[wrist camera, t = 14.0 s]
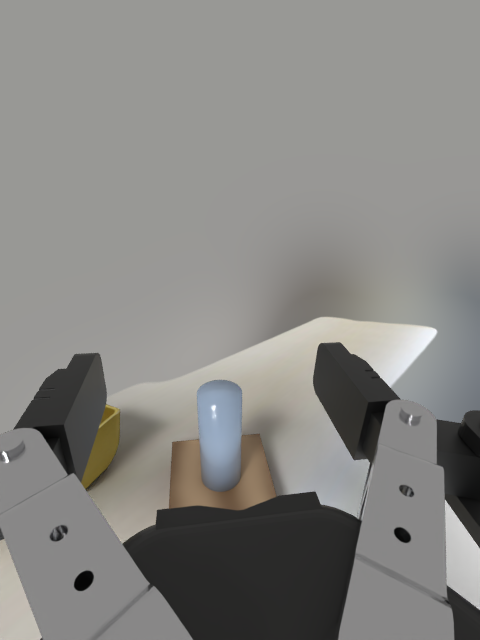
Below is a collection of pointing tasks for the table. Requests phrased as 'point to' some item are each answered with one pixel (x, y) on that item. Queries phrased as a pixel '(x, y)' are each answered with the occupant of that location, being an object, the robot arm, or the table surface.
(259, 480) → the stand
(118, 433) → the flower pot
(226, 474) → the pale blue tumbler
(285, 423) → the table surface
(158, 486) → the table surface
